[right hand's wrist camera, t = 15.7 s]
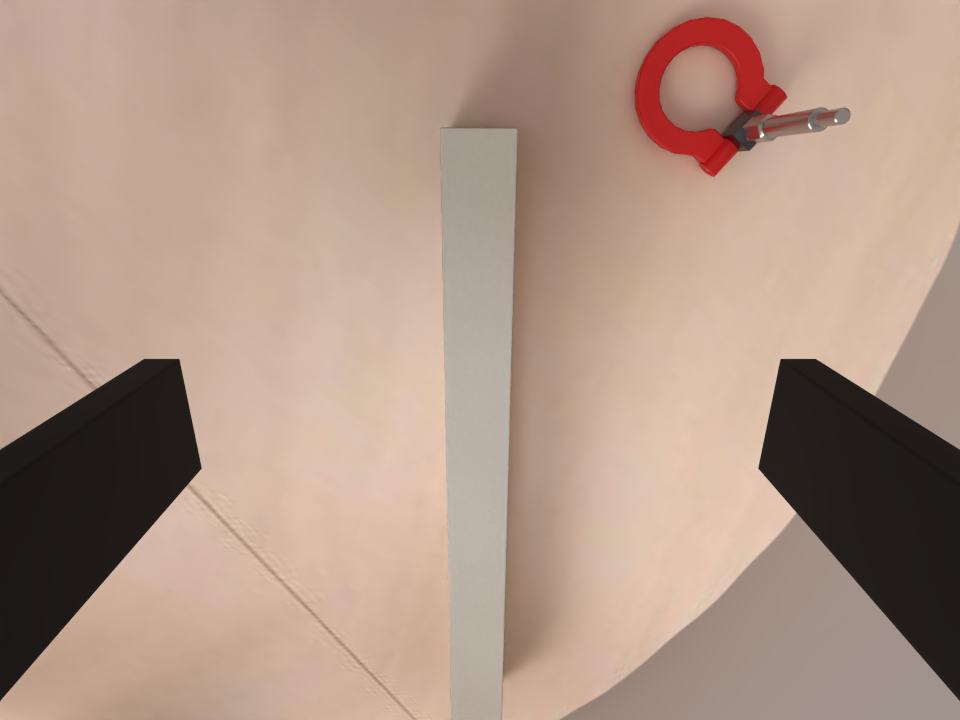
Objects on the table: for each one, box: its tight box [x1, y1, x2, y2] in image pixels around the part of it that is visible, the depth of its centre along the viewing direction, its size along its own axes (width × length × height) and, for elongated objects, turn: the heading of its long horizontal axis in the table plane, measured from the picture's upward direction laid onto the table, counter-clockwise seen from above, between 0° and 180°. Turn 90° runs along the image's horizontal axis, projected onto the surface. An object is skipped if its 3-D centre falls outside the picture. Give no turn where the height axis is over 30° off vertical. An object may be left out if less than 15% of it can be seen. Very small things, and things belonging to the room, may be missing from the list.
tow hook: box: [635, 17, 850, 177], centre depth 33 cm, size 8×13×9 cm
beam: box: [440, 128, 518, 720], centre depth 45 cm, size 54×4×8 cm, turn 0°
